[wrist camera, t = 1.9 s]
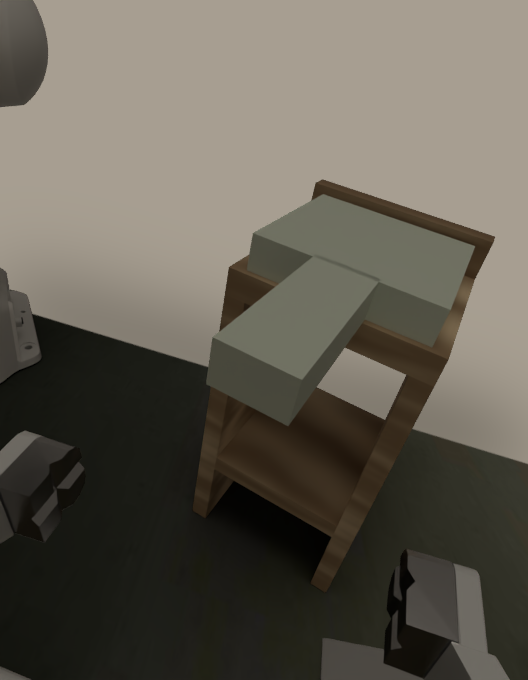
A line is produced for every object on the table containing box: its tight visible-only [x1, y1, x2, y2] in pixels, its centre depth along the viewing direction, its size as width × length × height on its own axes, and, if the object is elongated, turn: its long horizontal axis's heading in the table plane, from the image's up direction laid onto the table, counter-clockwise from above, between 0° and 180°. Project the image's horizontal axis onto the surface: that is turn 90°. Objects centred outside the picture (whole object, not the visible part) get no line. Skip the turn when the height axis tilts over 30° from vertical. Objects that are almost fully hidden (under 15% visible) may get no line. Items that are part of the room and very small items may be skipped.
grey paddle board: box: [206, 194, 475, 426], centre depth 27 cm, size 22×12×2 cm, turn 151°
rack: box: [192, 180, 495, 593], centre depth 39 cm, size 14×14×29 cm
